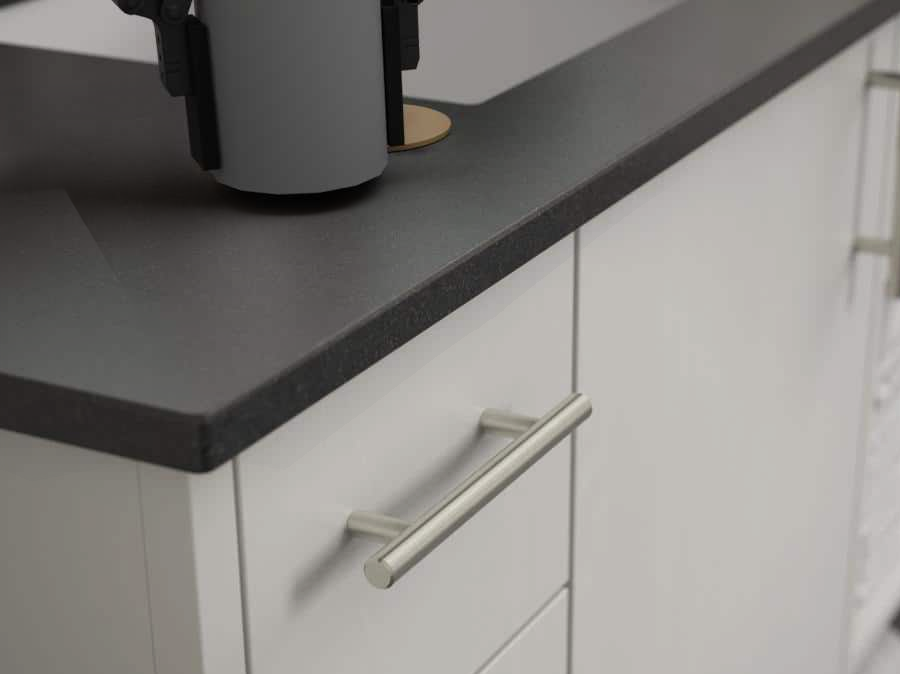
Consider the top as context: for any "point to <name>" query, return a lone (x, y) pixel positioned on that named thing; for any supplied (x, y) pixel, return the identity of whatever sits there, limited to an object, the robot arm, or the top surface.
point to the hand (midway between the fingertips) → (298, 149)
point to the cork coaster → (422, 127)
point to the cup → (296, 93)
